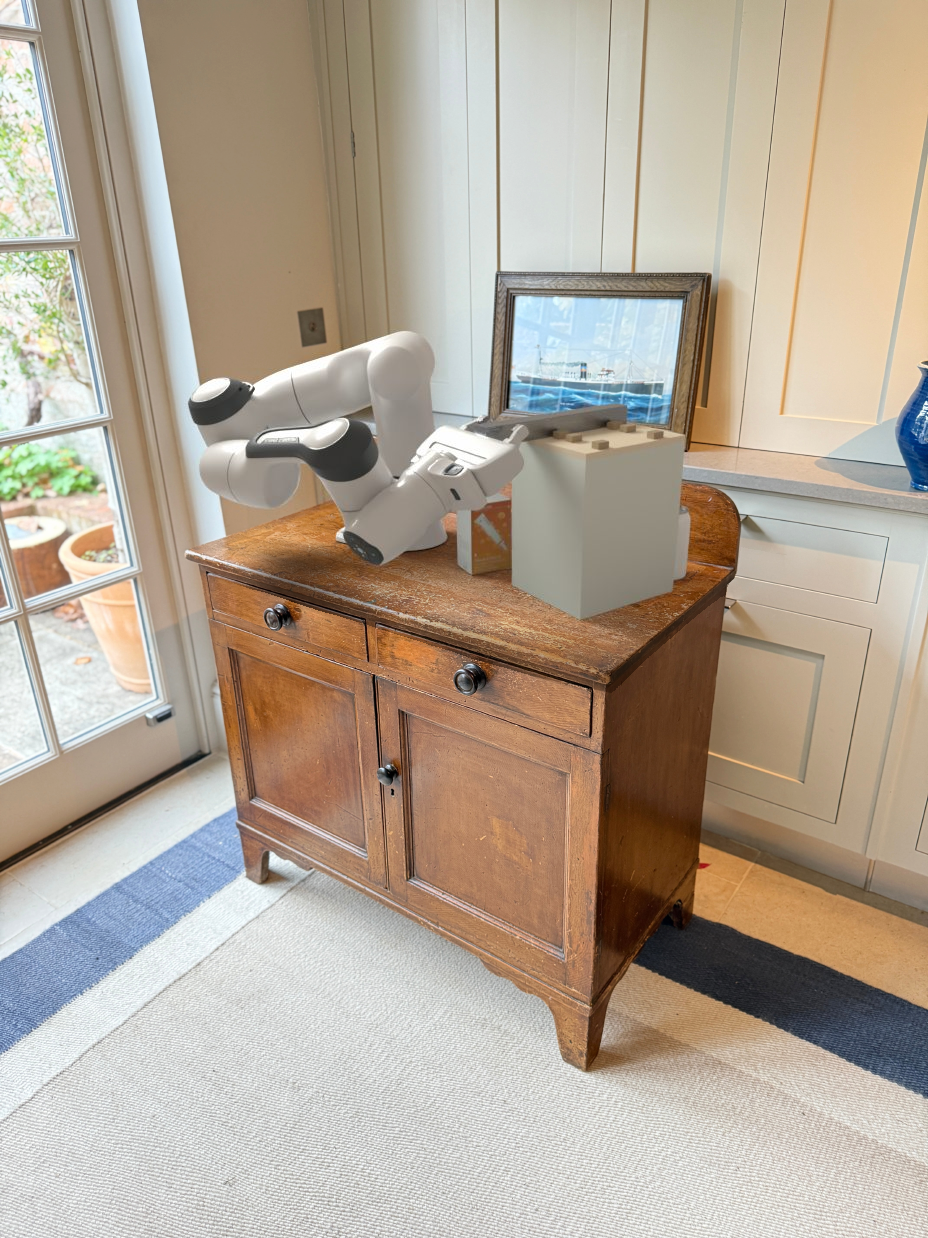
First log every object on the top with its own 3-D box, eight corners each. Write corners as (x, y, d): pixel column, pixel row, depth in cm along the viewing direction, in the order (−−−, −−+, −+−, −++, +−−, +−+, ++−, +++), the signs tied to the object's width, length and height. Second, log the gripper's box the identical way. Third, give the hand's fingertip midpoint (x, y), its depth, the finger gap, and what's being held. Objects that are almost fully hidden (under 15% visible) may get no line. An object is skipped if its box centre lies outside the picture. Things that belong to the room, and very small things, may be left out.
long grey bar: (485, 448, 125) (485, 427, 124) (474, 444, 127) (474, 424, 126) (626, 423, 139) (627, 405, 137) (614, 421, 141) (614, 402, 140)
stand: (580, 620, 131) (586, 446, 120) (511, 585, 145) (511, 427, 134) (672, 591, 141) (686, 428, 130) (600, 560, 155) (607, 411, 144)
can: (688, 571, 149) (694, 505, 144) (681, 583, 144) (687, 516, 139) (652, 566, 151) (656, 501, 146) (643, 579, 146) (648, 512, 141)
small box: (471, 576, 149) (470, 505, 144) (457, 565, 154) (455, 496, 149) (512, 568, 152) (512, 498, 147) (496, 558, 157) (496, 489, 152)
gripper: (414, 482, 134) (476, 428, 137) (487, 512, 118) (555, 451, 121) (395, 451, 130) (459, 396, 133) (467, 478, 115) (538, 416, 118)
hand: (505, 423), depth 127 cm, fingers open, 8 cm apart
